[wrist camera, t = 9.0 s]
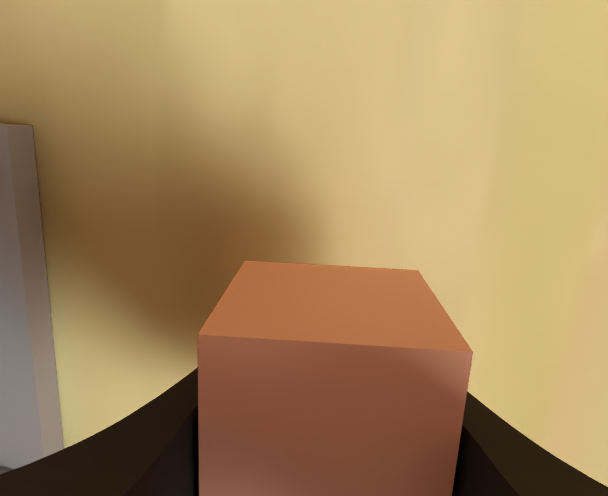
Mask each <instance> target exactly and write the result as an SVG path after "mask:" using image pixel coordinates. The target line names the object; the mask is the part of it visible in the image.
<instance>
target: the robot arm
mask: <svg viewBox="0 0 608 496" xmlns="http://www.w3.org/2000/svg"><path fill="white" fill-rule="evenodd" d="M0 496H199V433H198V368H197V369H195V370H194V371H193V372H191V373H190V374H189V375H187V376H186V377H185V378H183V379H182V380H181V381H179V382H178V383H176V384H175V385H174V386H172V387H171V388H169V389H168V390H167V391H165V392H164V393H162V394H161V395H160V396H158V397H157V398H155V399H154V400H152V401H150V402H149V403H147V404H146V405H144V406H143V407H141V408H140V409H138V410H136V411H135V412H133V413H132V414H130V415H129V416H127V417H125V418H124V419H122V420H120V421H119V422H117V423H115V424H113V425H112V426H110V427H108V428H106V429H104V430H102V431H100V432H98V433H96V434H94V435H93V436H91V437H89V438H87V439H85V440H83V441H81V442H78V443H76V444H74V445H72V446H70V447H67V448H65V449H63V450H60V451H58V452H56V453H53V454H51V455H49V456H46V457H44V458H41V459H39V460H37V461H34V462H32V463H30V464H27V465H24V466H22V467H19V468H16V469H14V470H11V471H8V472H5V473H2V474H0ZM452 496H608V487H606V486H605V485H603V484H601V483H599V482H597V481H595V480H594V479H592V478H590V477H588V476H587V475H585V474H583V473H582V472H580V471H578V470H577V469H575V468H573V467H572V466H570V465H568V464H567V463H565V462H563V461H562V460H560V459H558V458H557V457H555V456H554V455H552V454H551V453H549V452H548V451H546V450H545V449H543V448H542V447H540V446H539V445H537V444H536V443H534V442H533V441H532V440H530V439H529V438H527V437H526V436H524V435H523V434H521V433H520V432H519V431H517V430H516V429H515V428H513V427H512V426H511V425H509V424H508V423H507V422H505V421H504V420H503V419H501V418H500V417H499V416H497V415H496V414H495V413H494V412H492V411H491V410H490V409H489V408H487V407H486V406H485V405H484V404H482V403H481V402H480V401H479V400H477V399H476V398H475V397H474V396H472V395H471V394H470V393H469V392H467V395H466V402H465V409H464V416H463V422H462V429H461V436H460V443H459V450H458V456H457V463H456V470H455V477H454V484H453V490H452Z"/></svg>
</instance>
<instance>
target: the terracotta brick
mask: <svg viewBox="0 0 608 496" xmlns="http://www.w3.org/2000/svg"><path fill="white" fill-rule="evenodd" d="M472 355H473V351H472V350H471V348H470V347H469V345H468V344H467V342H466V341H465V339H464V338H463V336H462V335H461V333H460V332H459V330H458V329H457V328H456V326H455V325H454V323H453V322H452V320H451V319H450V317H449V316H448V314H447V313H446V311H445V310H444V308H443V307H442V305H441V304H440V302H439V301H438V299H437V298H436V296H435V295H434V293H433V292H432V290H431V289H430V287H429V286H428V284H427V283H426V281H425V280H424V279H423V277H422V276H421V274H420V273H419V271H418V270H403V269H385V268H368V267H351V266H333V265H316V264H299V263H281V262H264V261H247V260H245V261H244V263H243V264H242V266H241V267H240V269H239V270H238V272H237V274H236V275H235V277H234V278H233V280H232V281H231V283H230V285H229V286H228V288H227V289H226V291H225V292H224V294H223V295H222V297H221V299H220V300H219V302H218V303H217V305H216V306H215V308H214V310H213V311H212V313H211V314H210V316H209V317H208V319H207V320H206V322H205V324H204V325H203V327H202V328H201V330H200V331H199V333H198V433H199V496H452V490H453V484H454V477H455V470H456V463H457V456H458V450H459V443H460V436H461V429H462V422H463V416H464V409H465V402H466V395H467V389H468V382H469V375H470V368H471V361H472Z"/></svg>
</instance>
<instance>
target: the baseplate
mask: <svg viewBox="0 0 608 496" xmlns="http://www.w3.org/2000/svg"><path fill="white" fill-rule="evenodd" d="M63 449H64V444H63V434H62V423H61V413H60V403H59V393H58V383H57V372H56V362H55V352H54V342H53V331H52V321H51V311H50V301H49V291H48V280H47V270H46V260H45V250H44V239H43V229H42V219H41V209H40V199H39V188H38V178H37V168H36V158H35V147H34V137H33V127H32V125H21V124H0V474H2V473H5V472H8V471H11V470H14V469H16V468H19V467H22V466H24V465H27V464H30V463H32V462H34V461H37V460H39V459H41V458H44V457H46V456H49V455H51V454H53V453H56V452H58V451H60V450H63Z"/></svg>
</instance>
